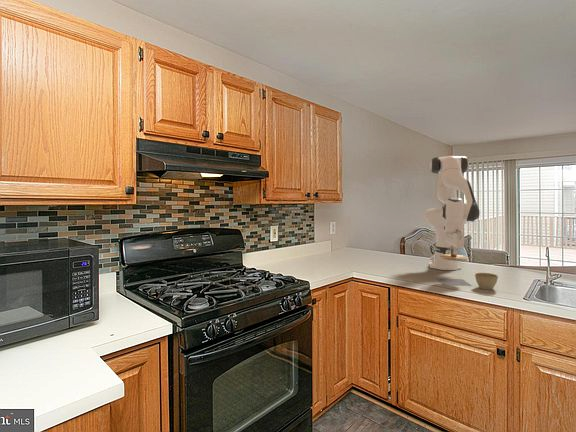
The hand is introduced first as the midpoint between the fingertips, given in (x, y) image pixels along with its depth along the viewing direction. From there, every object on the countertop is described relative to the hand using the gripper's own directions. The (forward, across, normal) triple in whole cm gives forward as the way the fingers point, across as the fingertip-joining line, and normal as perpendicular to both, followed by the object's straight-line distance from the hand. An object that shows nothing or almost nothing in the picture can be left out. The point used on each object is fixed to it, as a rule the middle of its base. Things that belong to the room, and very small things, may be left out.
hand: (453, 253), depth 184 cm
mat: (+16, -1, 0) cm, 16 cm away
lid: (+2, 0, 0) cm, 2 cm away
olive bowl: (+16, -12, -12) cm, 23 cm away
